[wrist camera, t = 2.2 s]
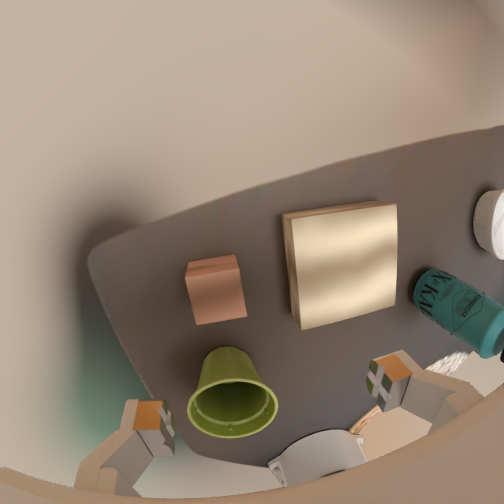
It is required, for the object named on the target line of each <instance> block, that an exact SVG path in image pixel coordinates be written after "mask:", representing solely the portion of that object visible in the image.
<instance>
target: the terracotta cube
mask: <svg viewBox="0 0 504 504" xmlns="http://www.w3.org/2000/svg"><path fill="white" fill-rule="evenodd" d="M185 281H186V285H187V289H188V293H189V298H190V302H191V306H192V310H193V314H194V317H195V321H196V325H201V324H207V323H213V322H219V321H225V320H230V319H236V318H241V317H247V313H246V307H245V301H244V295H243V289H242V283H241V277H240V271H239V267H238V263H237V260H236V257H235V254H231V255H225V256H219V257H214V258H208V259H202V260H197V261H191V262H188V266H187V271H186V275H185Z"/></svg>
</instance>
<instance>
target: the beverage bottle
mask: <svg viewBox="0 0 504 504" xmlns="http://www.w3.org/2000/svg"><path fill="white" fill-rule="evenodd" d="M463 282H464V281H463ZM463 282H462V281H460V280H458V279H456V277H455V278H454V276H452V275H449V273H448V274H447V273H445V271H444V272H443V271H440V270H437V269H431V270H428V271H427V272H425V273H424V274H423V275H422V276H421V277H420V279H419V280H418V282H417V284H416V287H415V290H414V302H415V304H416V306H417V307H418V308H419V309H420V310H421V311H422V312H423V314H424V313H425V314H426V316H427V315H428V316H429V317H430V318H432V319H433V320H434V321H436V322H437V323H438V324H440V325H441V327H443V328H444V329H446V330H447V331H449V332H450V333H451V335H454V336H456V337H457V338H458V339H459V340H461V341H462V342H463V343H465V344H466V345H467V346H468V347H470V348H471V349H472V350H474V351H475V352H476V353H477V354H479V355H480V357H481V358H483V359H487V358H490V357H493V356H495V355H497V354H499V353H500V352H501V351H502V353H501V357H500V360H501V361H502V362H503V363H504V306H503V305H502V304H500V303H498V302H497V301H495V300H493V299H491V298H490V297H488V296H487V295H485V294H483V293H484V292H483V291H482V292H483V293H482V292H480V291H478V290H477V289H474V288H473V287H471V285H467V284H465V282H464V283H463ZM425 314H424V315H425ZM429 317H428V318H429ZM433 320H432V321H433ZM437 323H436V324H437Z"/></svg>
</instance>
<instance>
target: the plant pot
mask: <svg viewBox="0 0 504 504" xmlns="http://www.w3.org/2000/svg"><path fill="white" fill-rule="evenodd" d="M277 410H278V401H277V398H276V396H275V394H274V393H273V391H272V390H271V389H270V388H269V387H268V386H266V385H265V384H264V383H263V382H262V381H261V379H260V377H259V375H258V373H257V371H256V369H255V367H254V365H253V363H252V361H251V359H250V357H249V356H248V355H247V353H245V352H243V351H241V350H239V349H237V348H236V347H230V346H226V347H220V348H217V349H215V350H213V351H211V352H210V353H209V354H208V356H207V357H206V358H205V360H204V362H203V367H202V371H201V375H200V379H199V383H198V388H197V390H196V391H195V392H194V393H193V395H192V396H191V397H190V399H189V402H188V405H187V413H188V417H189V419H190V421H191V422H192V424H193V425H194V426H195V427H196V428H198V429H199V430H201V431H202V432H204V433H206V434H209V435H212V436H215V437H221V438H239V437H244V436H248V435H251V434H254V433H256V432H258V431H260V430H262V429H263V428H265V427H266V426H267V425H269V424H270V423H271V422H272V420H273V419H274V417H275V415H276V413H277Z"/></svg>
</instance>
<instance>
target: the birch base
mask: <svg viewBox="0 0 504 504" xmlns="http://www.w3.org/2000/svg"><path fill="white" fill-rule="evenodd" d="M281 217H282V225H283V234H284V243H285V251H286V261H287V270H288V280H289V290H290V300H291V310H292V315H293V317H294V318H295V320H296V322H297V324H298V325H299V327H300V329H301V330H305V329H309V328H314V327H318V326H322V325H326V324H330V323H333V322H337V321H341V320H345V319H348V318H352V317H356V316H359V315H363V314H366V313H370V312H373V311H377V310H380V309H383V308H386V307H390V306H393V305H395V294H396V275H397V207H396V204H392V203H388V202H383V201H378V200H376V201H368V202H360V203H352V204H344V205H337V206H330V207H322V208H315V209H308V210H301V211H295V212H288V213H281Z"/></svg>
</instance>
